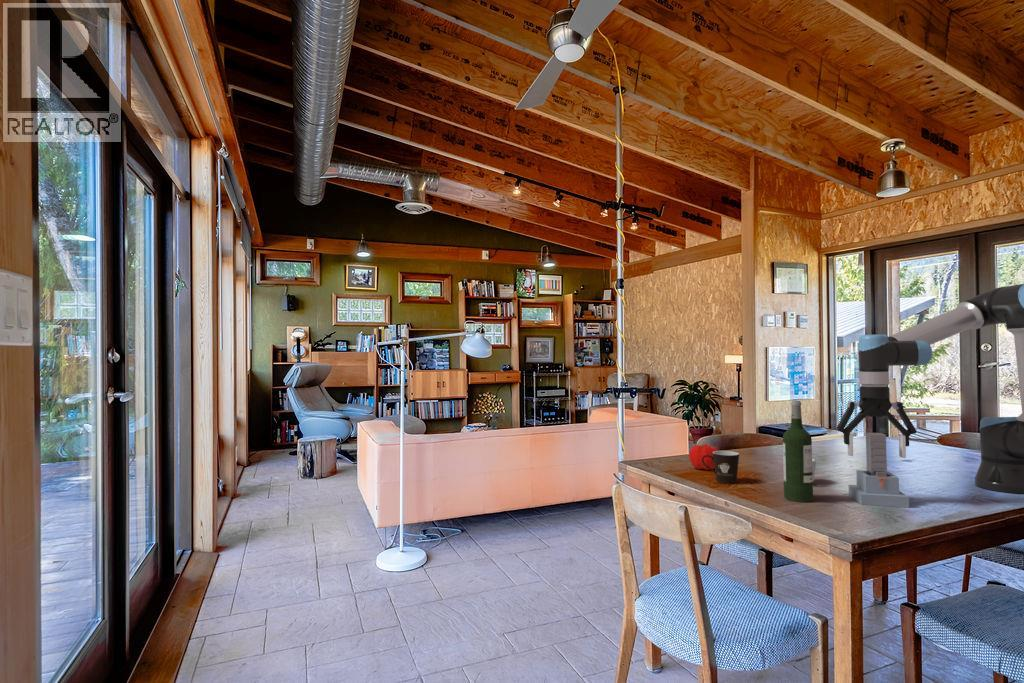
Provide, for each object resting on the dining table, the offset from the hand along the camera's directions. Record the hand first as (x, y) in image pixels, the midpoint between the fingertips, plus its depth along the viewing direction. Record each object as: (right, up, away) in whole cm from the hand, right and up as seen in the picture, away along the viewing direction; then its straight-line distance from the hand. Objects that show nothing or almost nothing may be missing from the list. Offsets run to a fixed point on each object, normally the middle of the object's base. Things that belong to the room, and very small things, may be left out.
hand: (876, 456), depth 161 cm
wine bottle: (-22, -14, +3) cm, 26 cm away
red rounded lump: (-35, -15, +47) cm, 60 cm away
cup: (-10, -14, +22) cm, 28 cm away
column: (0, -13, 0) cm, 13 cm away
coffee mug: (-36, -15, +26) cm, 47 cm away
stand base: (0, -13, 0) cm, 13 cm away
